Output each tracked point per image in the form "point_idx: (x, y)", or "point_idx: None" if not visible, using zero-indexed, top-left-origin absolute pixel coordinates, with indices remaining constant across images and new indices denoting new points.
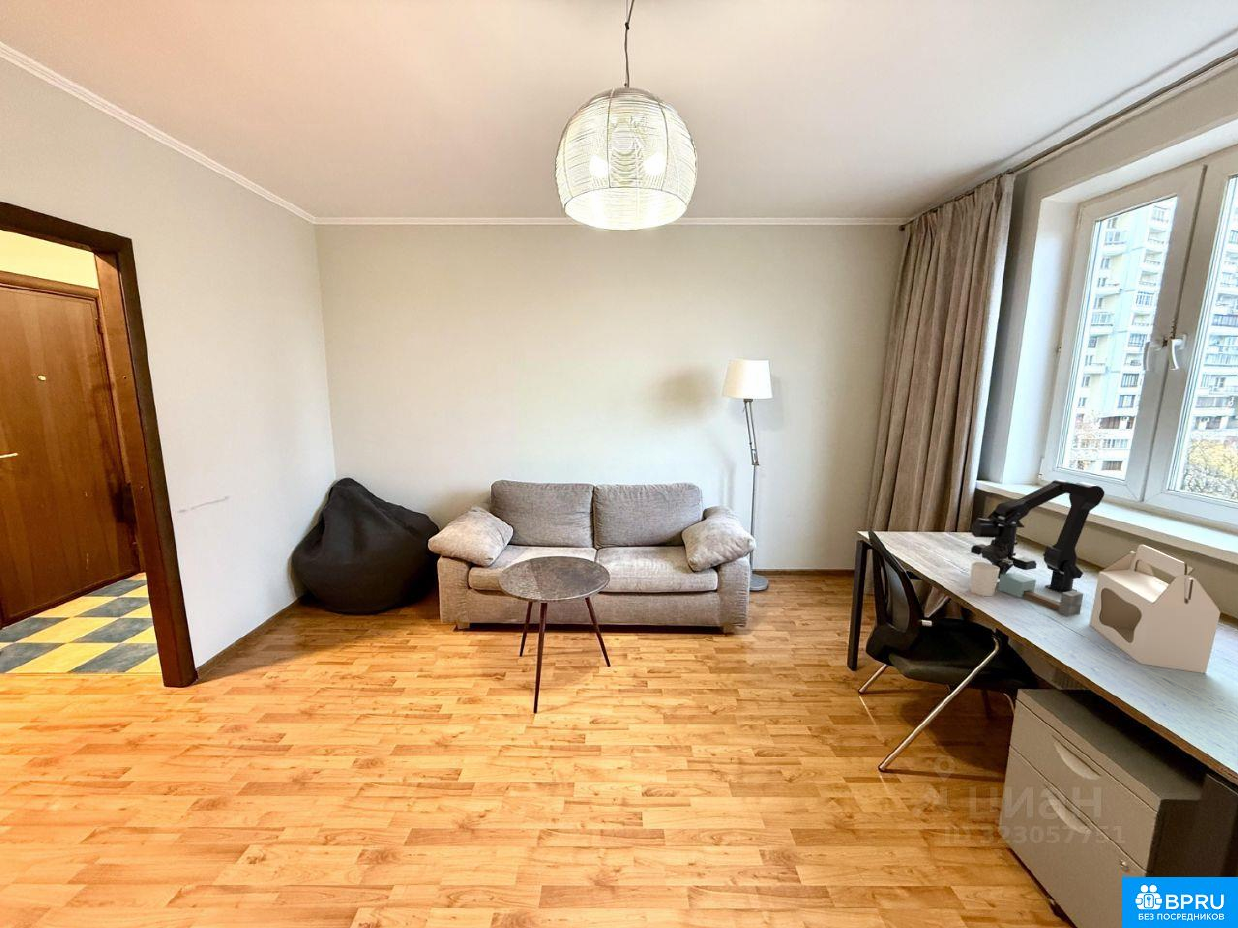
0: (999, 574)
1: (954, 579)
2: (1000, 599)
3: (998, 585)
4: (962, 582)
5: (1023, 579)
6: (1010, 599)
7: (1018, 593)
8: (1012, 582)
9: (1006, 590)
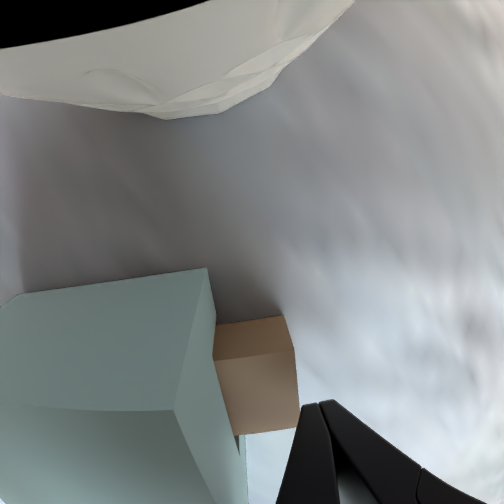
0: (312, 449)
1: (499, 69)
2: None
3: (263, 334)
4: (447, 63)
5: (8, 483)
6: (6, 184)
7: (7, 307)
8: (3, 360)
9: (113, 290)
